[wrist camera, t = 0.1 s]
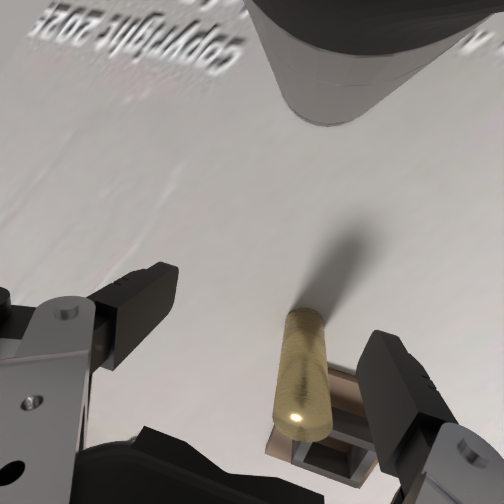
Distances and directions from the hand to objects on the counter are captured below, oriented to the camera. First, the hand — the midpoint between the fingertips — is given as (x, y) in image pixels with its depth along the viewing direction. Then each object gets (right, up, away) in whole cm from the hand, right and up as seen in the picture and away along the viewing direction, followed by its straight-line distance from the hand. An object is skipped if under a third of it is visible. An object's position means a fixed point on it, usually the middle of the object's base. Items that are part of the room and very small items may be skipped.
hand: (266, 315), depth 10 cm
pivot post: (+6, -6, +20) cm, 21 cm away
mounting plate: (+10, -21, +24) cm, 34 cm away
